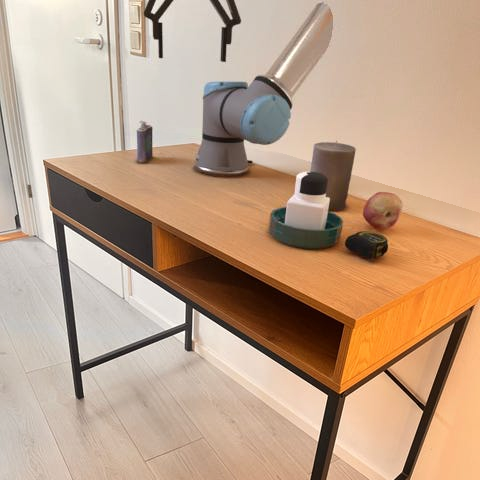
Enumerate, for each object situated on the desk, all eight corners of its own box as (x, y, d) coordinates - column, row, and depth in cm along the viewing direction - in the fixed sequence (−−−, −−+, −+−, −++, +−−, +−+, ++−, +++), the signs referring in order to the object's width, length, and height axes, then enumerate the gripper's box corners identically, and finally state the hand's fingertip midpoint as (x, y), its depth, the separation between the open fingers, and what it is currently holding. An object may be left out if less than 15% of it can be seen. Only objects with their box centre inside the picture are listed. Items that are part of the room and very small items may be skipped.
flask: (144, 164, 140) (143, 124, 135) (134, 162, 140) (133, 123, 135) (154, 157, 148) (153, 119, 143) (144, 156, 148) (143, 118, 143)
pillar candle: (353, 208, 118) (366, 144, 110) (322, 213, 113) (333, 145, 106) (327, 197, 125) (338, 135, 117) (297, 200, 120) (305, 136, 113)
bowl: (289, 219, 108) (292, 201, 106) (350, 236, 102) (354, 217, 100) (255, 236, 97) (257, 217, 95) (320, 256, 91) (324, 236, 89)
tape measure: (341, 251, 94) (344, 233, 92) (365, 245, 97) (369, 227, 96) (367, 265, 89) (371, 245, 87) (392, 258, 93) (397, 239, 91)
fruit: (359, 231, 104) (366, 194, 100) (361, 220, 111) (368, 185, 107) (396, 237, 103) (405, 200, 99) (396, 226, 109) (405, 190, 105)
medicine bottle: (324, 231, 101) (334, 172, 95) (318, 242, 95) (328, 181, 89) (291, 225, 103) (298, 167, 97) (282, 236, 97) (290, 175, 91)
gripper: (128, -73, 90) (134, 57, 101) (260, -59, 95) (251, 64, 106) (128, -68, 96) (133, 55, 107) (251, -54, 101) (244, 61, 112)
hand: (192, 59), depth 107 cm, fingers open, 13 cm apart
